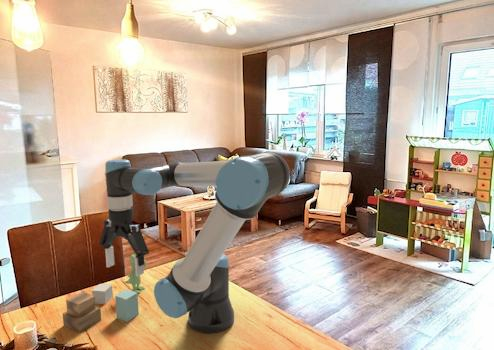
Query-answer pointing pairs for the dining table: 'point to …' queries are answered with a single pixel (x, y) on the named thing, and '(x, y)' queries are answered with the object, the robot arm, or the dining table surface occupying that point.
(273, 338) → the dining table surface
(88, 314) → the base block
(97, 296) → the block
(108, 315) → the dining table surface
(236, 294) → the dining table surface
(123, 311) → the teal block
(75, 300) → the top block
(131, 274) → the toy
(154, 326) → the dining table surface
